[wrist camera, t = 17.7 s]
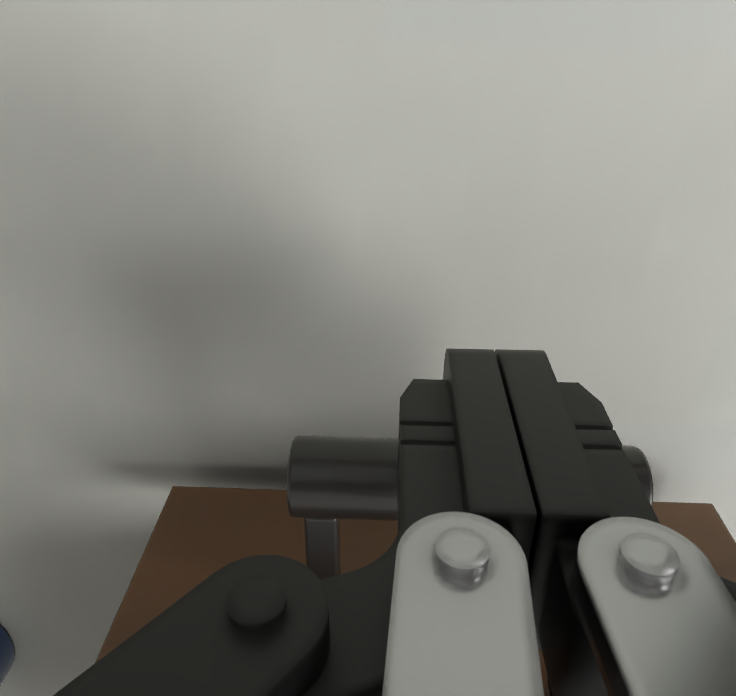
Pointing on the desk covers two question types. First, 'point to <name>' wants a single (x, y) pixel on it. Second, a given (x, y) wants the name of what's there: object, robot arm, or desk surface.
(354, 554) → the drawer
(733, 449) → the desk surface
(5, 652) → the pencil tin
